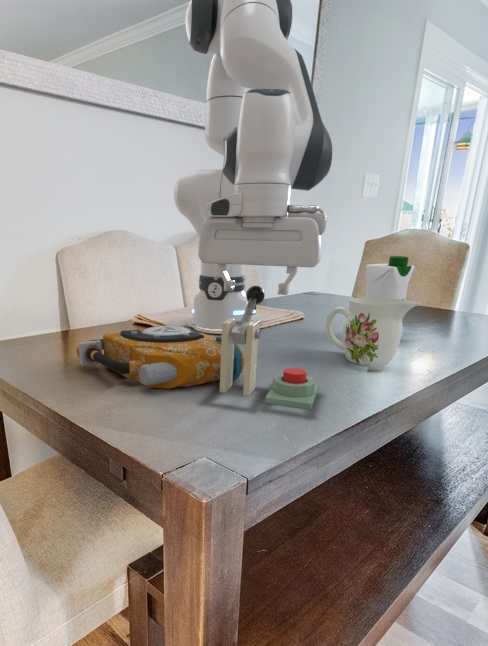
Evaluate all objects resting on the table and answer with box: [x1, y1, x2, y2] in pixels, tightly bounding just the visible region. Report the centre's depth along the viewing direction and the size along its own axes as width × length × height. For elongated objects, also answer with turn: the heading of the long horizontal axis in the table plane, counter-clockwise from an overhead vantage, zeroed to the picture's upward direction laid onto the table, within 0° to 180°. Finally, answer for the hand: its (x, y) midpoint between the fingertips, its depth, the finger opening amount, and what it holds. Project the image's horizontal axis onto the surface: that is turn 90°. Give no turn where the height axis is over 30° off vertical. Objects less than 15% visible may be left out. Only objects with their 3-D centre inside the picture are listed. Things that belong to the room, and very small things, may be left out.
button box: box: [264, 373, 320, 410], centre depth 75 cm, size 10×7×4 cm
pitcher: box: [325, 296, 422, 371], centre depth 93 cm, size 11×18×14 cm, turn 46°
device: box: [75, 325, 245, 390], centre depth 87 cm, size 23×8×30 cm
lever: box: [231, 285, 266, 346], centre depth 77 cm, size 13×3×3 cm, turn 159°
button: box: [282, 367, 308, 384], centre depth 74 cm, size 4×4×2 cm
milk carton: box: [364, 255, 415, 300], centre depth 112 cm, size 9×9×20 cm
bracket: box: [219, 318, 261, 397], centre depth 75 cm, size 10×8×13 cm
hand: (255, 292), depth 79 cm, fingers open, 8 cm apart
